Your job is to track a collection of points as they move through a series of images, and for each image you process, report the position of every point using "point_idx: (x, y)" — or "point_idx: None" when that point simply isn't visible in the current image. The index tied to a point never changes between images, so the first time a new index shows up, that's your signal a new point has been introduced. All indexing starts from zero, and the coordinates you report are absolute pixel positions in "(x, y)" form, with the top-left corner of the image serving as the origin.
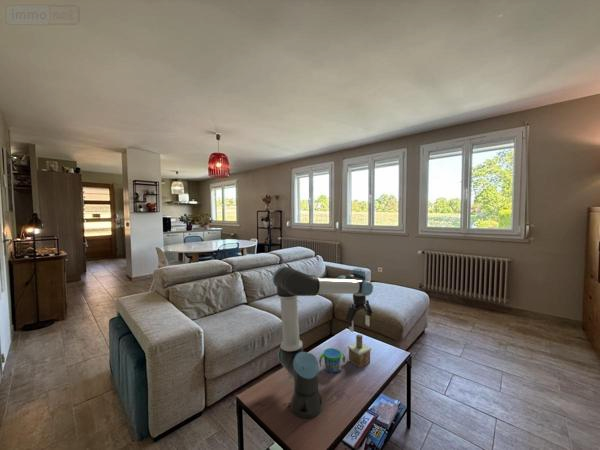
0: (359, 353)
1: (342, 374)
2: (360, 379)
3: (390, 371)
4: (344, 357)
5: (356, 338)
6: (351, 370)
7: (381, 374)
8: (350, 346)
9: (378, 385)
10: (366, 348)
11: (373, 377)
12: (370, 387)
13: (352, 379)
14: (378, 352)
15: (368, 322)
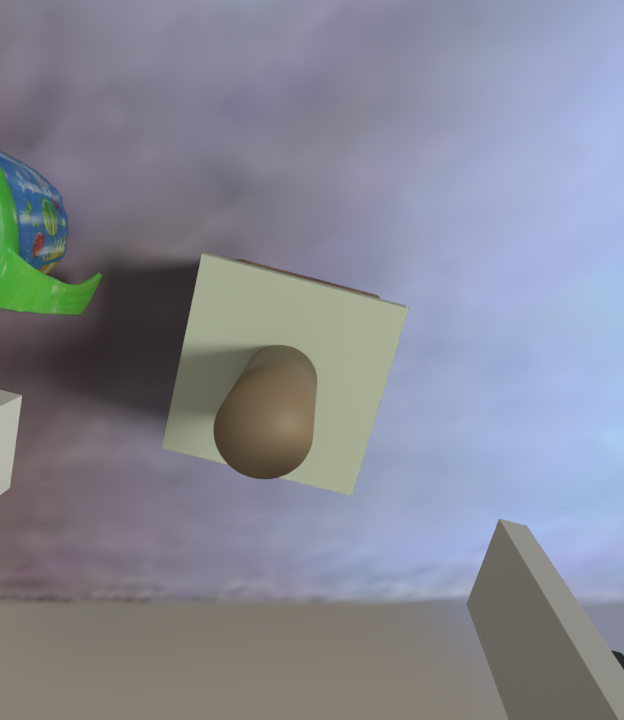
0: (165, 447)
1: (33, 331)
2: (93, 467)
3: (343, 585)
4: (63, 311)
5: (231, 390)
6: (133, 358)
7: (261, 552)
8: (214, 290)
9: (134, 585)
10: (311, 457)
11: (186, 525)
12: (75, 556)
13: (47, 423)
14: (552, 403)
15: (493, 668)
